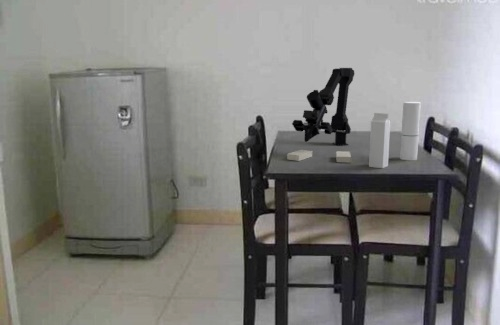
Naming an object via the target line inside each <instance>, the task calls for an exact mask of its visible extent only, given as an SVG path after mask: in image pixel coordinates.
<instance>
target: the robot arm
mask: <svg viewBox="0 0 500 325" xmlns="http://www.w3.org/2000/svg"><path fill="white" fill-rule="evenodd" d="M354 77H355V70H354V69H353V68H352V67H339V68H333V69H332V71H331V74H330V77H329V79H328V80H327V83H326V85H325V86H324V88H322V89H321V90H320V91H319V90H318V89H313V91H311V92H309V93H308V94H307V95H306V100H307V101H308V103H309V105H310V107H311V109H312V110H305V109H304V110H303V113H302V114H303V115H302V118H304V122H303V121H302V119H294V120H293V121H292V123H291V125H292V127H293V129H295V131H296V132H301V133H302V132H303V131H304V142H305V143H307V142H309V141H310V140H312V139H313V138H314V137H316V136H317V135H320V131H321V130H324V131H323V132H324V134H325V135H332V134H333V133H334V134H335V135H334V139H335V140H334V142H332V144H333V145H335V146H349V143H347V135H349V134H350V133H351V130H352V129H351V126H350V125H349V118H348V116H347V114H346V113H347V104H348V94H349V88H350V85H351V84H352V82H353V80H354ZM337 87H338V93H337V94H338V95H337V102H336V109H335V110H336V111H335V113H334V115H332V116H331V122H328V121H324V116H325V114H328V109H327V106H331V105H332V104H333V102H334V99H335V96H334V94H335V90H336V89H337Z"/></svg>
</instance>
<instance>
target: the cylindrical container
mask: <svg viewBox="0 0 500 325" xmlns="http://www.w3.org/2000/svg"><path fill="white" fill-rule="evenodd" d="M421 104H422V102H420V101H403V104H402V105H403V106H402V121H401V123H402V124H401V138H400V151H399V153H400V154H399V159H400V160H403V161H417V160H418V152H419V151H418V149H419V148H418V147H419V136H420V134H419V133H420V132H419V130H420V119H421V109H422V108H421V106H422V105H421Z"/></svg>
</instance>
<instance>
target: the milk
mask: <svg viewBox="0 0 500 325" xmlns="http://www.w3.org/2000/svg"><path fill="white" fill-rule="evenodd" d="M390 136H391V120H390V118H389V113H383V112H381V113H379V112H378V113H377V112H374V114H373V117H372V119H371V121H370V137H369V138H370V139H369V156H368V157H369V158H368V167H369V168H370V167H371V168H376V169H385V168H387V167H388V166H389V154H390Z"/></svg>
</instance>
